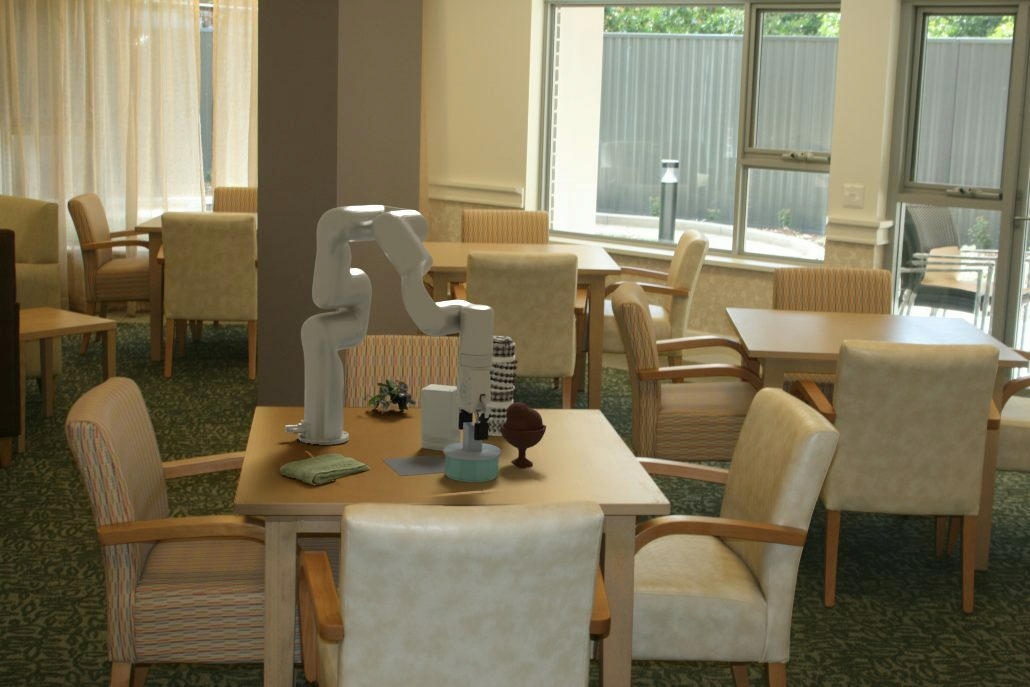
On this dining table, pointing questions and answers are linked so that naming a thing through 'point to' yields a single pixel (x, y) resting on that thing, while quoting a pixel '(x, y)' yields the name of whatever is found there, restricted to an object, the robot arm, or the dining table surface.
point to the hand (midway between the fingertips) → (473, 434)
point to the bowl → (471, 469)
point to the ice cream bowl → (522, 431)
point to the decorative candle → (501, 382)
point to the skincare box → (439, 417)
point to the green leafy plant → (391, 395)
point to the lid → (471, 447)
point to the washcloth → (322, 468)
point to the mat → (417, 465)
